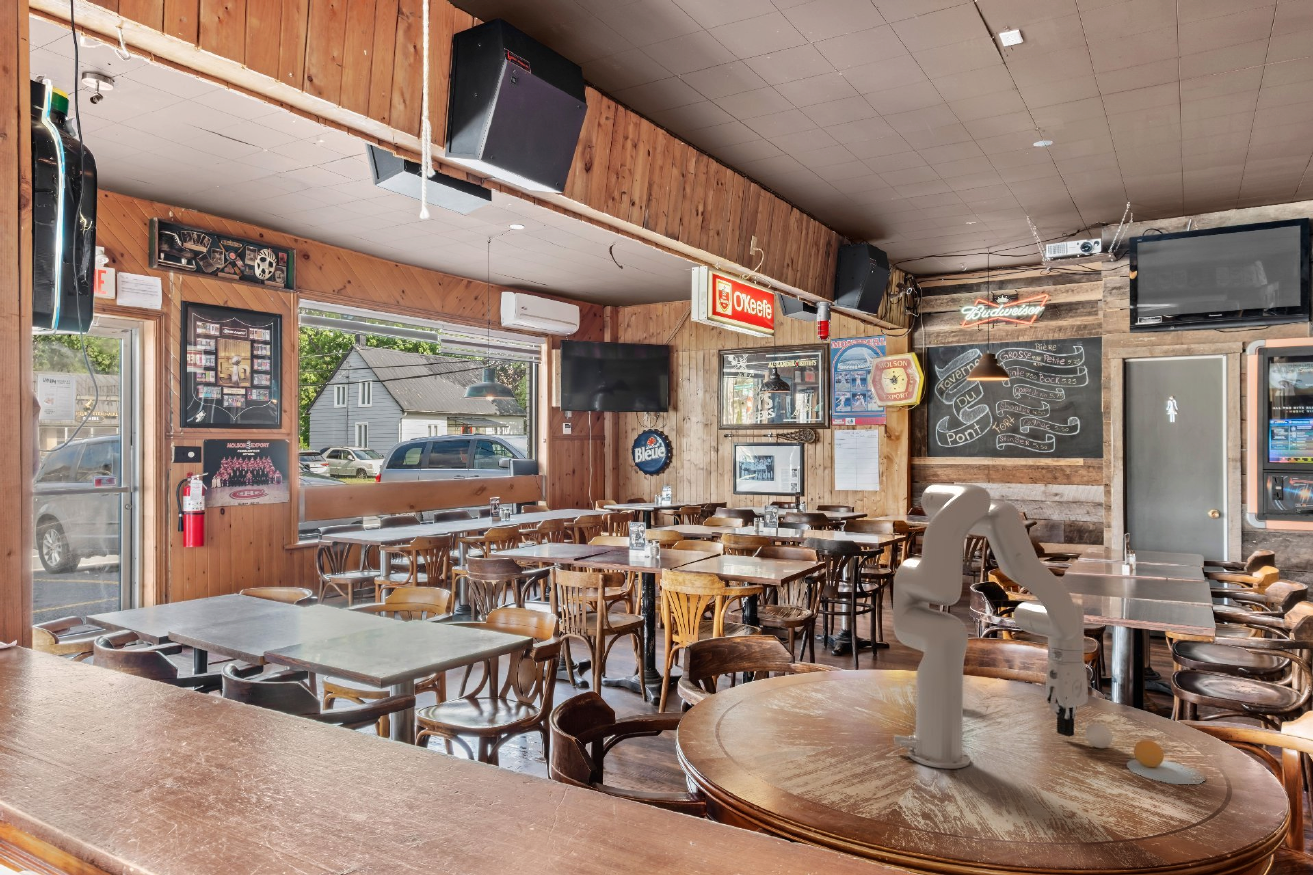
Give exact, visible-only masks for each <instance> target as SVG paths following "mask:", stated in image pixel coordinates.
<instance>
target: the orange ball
mask: <svg viewBox="0 0 1313 875" xmlns="http://www.w3.org/2000/svg"><path fill="white" fill-rule="evenodd" d="M1133 755H1134V757H1135V760H1136V759H1137V761H1138V762H1139V763H1140V764H1142V765H1144V766H1146V767H1157V766H1159V765H1160V764H1161V763H1162V762H1163V761H1164V759H1165V756H1164V751H1163V748H1162V747H1161V746H1160V745H1159V744H1158V743H1156V742H1155V741H1153V740H1150V739H1142V740H1139V741H1138V742H1137V743H1136V744H1135V746H1134V748H1133Z"/></svg>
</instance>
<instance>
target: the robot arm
mask: <svg viewBox="0 0 1313 875" xmlns="http://www.w3.org/2000/svg"><path fill="white" fill-rule="evenodd" d="M920 503H921V507H922V510H923V512H924V514H925V515H926V516H927V517H928V518H930V519H931V520H930V521H929V522H928V525H927V526H926V528H925V530H924V534H923V537H922V538H923V539H922V547H921V557H909V558H907V559H905V560H903V561H902V562H901V563H900V564H899V566H898V568H897V569H896V572H895V574H894V579H893V595H892V596H893V597H892V599H893V600H892V602H893V603H892V628H893V632H894V633H893V634H894V636H895V637H896V639H897V640H898V641H899V642H900V643H901V644H902V645H904V646H906V647H909V648H912V649H915V650H918V651H920V652H923V656H922V658H921V661H920V662H919V664H918V667H917V671H916V677H915V680H916V682H915V683H916V693H915V694H916V696H915V697H916V706H915V707H916V708H915V709H916V710H915V711H916V712H915V713H916V714H915V716H916V717H915V731H913V734H909V735H907V736H905V735H901V734H899V735H898V734H894V735H893V743H894V745H900V748H908V753H907V754H908V757H909V758H910V759H911V760H913V761H914V762H916V763H919V764H921V765H923V766H928V767H932V768H938V769H944V770H945V769H948V770H949V769H951V770H952V769H956V770H957V769H963V768H965V767H967V766H969V764H970V763H971V757H970V755H969V754H968V753H967V752H966V751H964V750H963V721H964V720H963V705H964V704H963V699H964V698H963V697H964V695H963V693H964V688H963V687H964V686H963V685H964V680H963V679H964V678H963V677H964V664H965V658H966V654H967V653H966V652H967V648H968V643H969V632H968V629H967V627H966V625H965V623H964V622H963V620H961V618H959V617H957V616H956V615H953V614H951V613H949V612H946V611H943V610H942V611H941V610H938V609H933V608H930V604H932V605H935V606H937V605H938V606H943V607H944V606H945V607H948V606H953V605H955V604H956V603H957V602H958V601H959V600H960V598H961V595H962V590H963V573H964V572H963V567H964V565H963V564H964V561H963V560H964V545H965V541H966V538H967V536H968V535H972V536H978V537H985V538H986V539H987V541H988V544H989V546H990V548H991V551H992V553H993V556H994V558H995V561H996V563H997V566H998V569H999V571H1000V572H1001V573H1002V575H1004V576H1005V577H1007V578H1008V579H1009V580H1011V581H1013V582H1014V583H1016V584H1017V585H1019V586H1020V587H1023V588H1024V589H1025V590H1027V591H1029V592H1030V593H1031V595H1033V596H1035V598H1036V599H1037V600H1026V601H1023V602H1021V603H1019V604H1018V605H1017V606H1016V607H1015V609H1014V611H1013V621H1014V623H1015V625H1016V626H1017V627H1018V628H1019V629H1021V630H1022V631H1024V632H1026V633H1029V634H1032V635H1036V636H1041V637H1046V638H1047V660H1048V662H1047V669H1046V678H1045V701H1046V702H1047V703H1048V704H1049V711H1050V712H1054V713H1055V716H1056V733H1057V734H1059V735H1063V736H1065V737H1073V736H1074V735H1075V718H1076V714H1077V709H1078V708H1079V707H1081V706H1082V705H1085V704H1086V703H1087V702H1088V699H1089V694H1088V693H1089V692H1088V691H1089V690H1088V687H1089V686H1088V675H1087V674H1088V673H1087V669H1086V663H1085V661H1084V660H1085V649H1084V648H1085V647H1084V646H1085V643H1084V642H1085V633H1084V632H1085V610H1084V607H1083V605H1082V604H1081V603H1079V602H1075V601H1073V598H1072V596H1071V594H1070V592H1069V591H1068V589H1067V587H1066V586H1065V585H1064V584H1063V583H1062V581H1061V580H1060V579H1059V578H1058V577H1057V576H1056V575H1055V574H1054V573H1053V572H1052V571H1051V570H1050V569H1049V568H1048V567H1047V566H1046V565H1045V564H1044V563H1043V562H1041V560H1040V559H1039V558H1038V555H1037V553H1036V550H1035V547H1034V545H1033V544H1032V540H1031V538H1030V535H1029V534H1028V530H1027V529H1026V525H1025V523H1024V521H1023V518H1022V515H1021V513H1020V511H1019V510H1018V508H1017V507H1016V506H1015V505H1013V504H1012V503H1010V502H1007V501H1002V500H992V498H991V494H990V492H989V491H988V490H987V489H986V488H984V487H982V486H980V485H975V484H971V483H970V484H969V483H945V482H944V483H932V484H931V485H929V486H928V487H926V488H925V489H924V491H923V492H922V494H921V500H920Z"/></svg>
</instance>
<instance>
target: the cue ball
mask: <svg viewBox="0 0 1313 875" xmlns="http://www.w3.org/2000/svg"><path fill="white" fill-rule="evenodd" d="M1084 735H1085V738H1086V741H1087V742H1088V744H1090V745H1091V746H1092V747H1094V748H1098V749H1105V748H1108V747H1109V746H1110V745H1112V742H1113V733H1112V730H1111V729H1110V727H1108V726H1107V725H1106V724H1104V723H1100V722H1092V723H1090V724H1089V725H1088V726H1087V727H1086V729H1085V733H1084Z"/></svg>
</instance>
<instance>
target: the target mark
mask: <svg viewBox="0 0 1313 875" xmlns="http://www.w3.org/2000/svg"><path fill="white" fill-rule="evenodd" d="M1183 766H1186V765H1184V764H1180V763H1177V762H1172V761H1167V760H1163V762H1162V763H1161V764H1160V765H1159V766H1157V767H1146V766H1144V765H1142V764H1140V763H1139V762H1138V761H1137V759H1136V758H1135V759H1131V760H1129V761H1128V762H1127V763H1126V767H1127V769H1128V768H1129V769H1128V770H1130V771H1131V772H1132V771H1133V772H1132V773H1134V774H1136V773H1137V774H1136V775H1138V776H1140V775H1141V776H1140V777H1143V778H1146V779H1149V780H1152V779H1153V780H1152V781H1156V782H1160V781H1162V782H1161V783H1165V782H1166V783H1165V784H1170V783H1171V784H1172V785H1178V784H1188V785H1187V786H1190V785H1189V784H1197V785H1201V784H1203V783H1204V782H1203V781H1206V777H1205V775H1204V774H1203V773H1201V772H1200V771H1198V770H1196V769H1194V768H1192V769H1189V768H1190V767H1189V766H1186V767H1183ZM1181 768H1182V769H1181ZM1185 768H1188V769H1185ZM1189 771H1190V772H1189ZM1190 773H1192V774H1190ZM1193 773H1197V774H1193ZM1199 773H1201V774H1199ZM1194 775H1197V776H1194ZM1198 775H1204V776H1198ZM1189 777H1190V778H1189ZM1193 777H1197V778H1193ZM1198 777H1199V778H1198ZM1200 777H1201V778H1200ZM1202 777H1205V778H1202ZM1191 779H1192V780H1191ZM1193 779H1195V780H1193ZM1196 779H1203V780H1196ZM1204 779H1205V780H1204ZM1183 781H1184V782H1183ZM1193 781H1197V782H1193ZM1198 781H1201V782H1198ZM1202 782H1203V783H1202ZM1200 783H1201V784H1200Z"/></svg>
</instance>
